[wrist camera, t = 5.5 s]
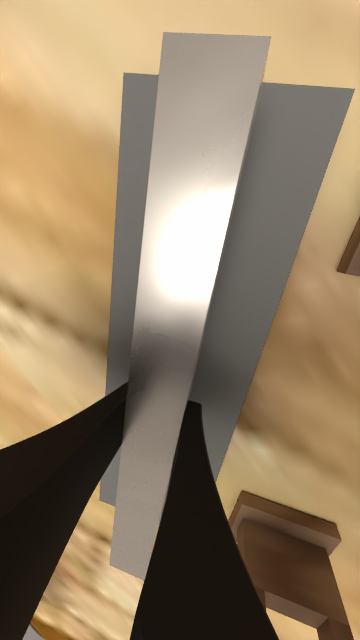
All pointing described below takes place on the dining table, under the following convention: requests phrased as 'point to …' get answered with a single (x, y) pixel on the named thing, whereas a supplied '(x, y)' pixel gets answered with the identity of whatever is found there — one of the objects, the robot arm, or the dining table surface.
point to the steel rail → (180, 260)
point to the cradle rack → (295, 545)
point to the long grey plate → (241, 245)
